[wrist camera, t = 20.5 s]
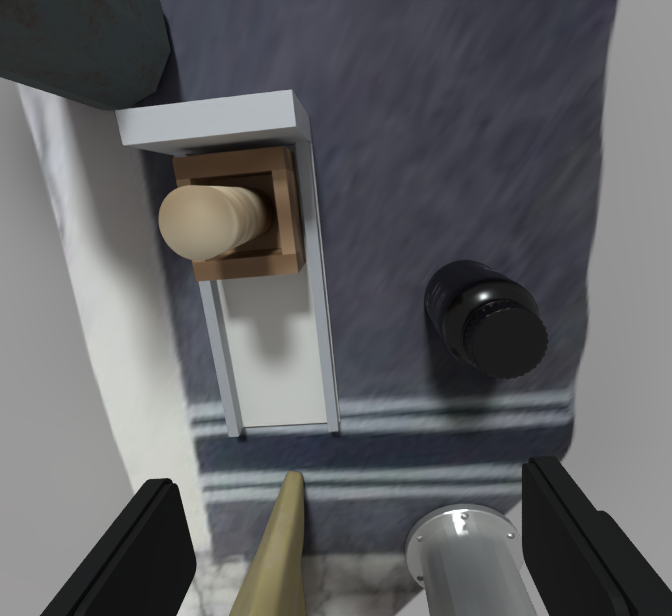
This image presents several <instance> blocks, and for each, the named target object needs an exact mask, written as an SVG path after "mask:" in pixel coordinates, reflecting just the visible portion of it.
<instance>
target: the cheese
mask: <svg viewBox="0 0 672 616" xmlns="http://www.w3.org/2000/svg"><path fill="white" fill-rule="evenodd" d="M303 539H304V486H303V476H302V474H301V473H300V472H296V471H289V472H288V473H287V474H286V476H285V479H284V481H283V484H282V487H281V489H280V492H279V495H278V498H277V500H276V503H275V505H274V508H273V511H272V513H271V516H270V519H269V521H268V524H267V527H266V529H265V532H264V535H263V538H262V540H261V543H260V545H259V548H258V550H257V553H256V555H255V557H254V560H253V562H252V564H251V566H250V569H249V571H248V573H247V575H246V578H245V580H244V582H243V584H242V586H241V589H240V591H239V593H238V595H237V598H236V600H235V603H234V605H233V607H232V609H231V611H230V614H229V616H307V615H306V607H305V599H304V590H303V581H302V569H301V557H302V549H303Z"/></svg>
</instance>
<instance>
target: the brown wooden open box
mask: <svg viewBox="0 0 672 616" xmlns="http://www.w3.org/2000/svg"><path fill="white" fill-rule="evenodd" d="M172 162H173V168H174V173H175V178H176V183H177V188H179V187H182V186H188V185H197V186H222V187H248V188H256V189H259V190H261V191H263V192H264V193H266V194H267V195H268V196H269V198H270V199H271V201H272V203H273V205H274V209H275V219H274V222H273V225H272V227H271V228H270V229H269V230H268V231H267V232H266V233H265V234H263V235H261V236H258V237H256V238H254V239H252V240H250V241H248V242H245V243H243V244H241V245H239V246H237V247H235V248H232V249H230V250H228V251H226V252H224V253H222V254H219V255H217V256H215V257H213V258H211V259H207V260H202V261H197V260H192V264H193V269H194V274H195V279H196V282H199V281H211V280H223V279H235V278H247V277H260V276H272V275H284V274H296V273H299V272H300V270H301V269H302V267H303V266H304V264H305V263H306V255H305V246H304V238H303V229H302V220H301V212H300V203H299V194H298V186H297V177H296V168H295V160H294V153H293V152H292V151H290V150H288V149H287V148H285V147H283V146H279V147H270V148H261V149H251V150H242V151H233V152H223V153H214V154H205V155H195V156H186V157H177V158H172Z"/></svg>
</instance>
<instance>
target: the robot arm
mask: <svg viewBox="0 0 672 616" xmlns="http://www.w3.org/2000/svg"><path fill="white" fill-rule="evenodd" d="M405 557H406V564H407V567H408V570H409V572H410V574H411V576H412V577H413V579H414V580H415V581H416V582H417V583H418V584H419V585H420V586H421V587H423V588H424V589H425V590H426V595H427V601H428V607H429V613H430V616H538V615H537V613H536V611H535V608H534V606H533V604H532V601H531V599H530V597H529V594H528V592H527V590H526V587H525V585H524V583H523V580H522V578H521V576H520V573H519V571H520V569H521V567H522V564H523V560H525V563H526V566H527V568H528V570H529V572H530V574H531V576H532V579H533V581H534V583H535V585H536V587H537V590H538V592H539V594H540V596H541V598H542V600H543V603H544V605H545V607H546V609H547V611H548V614H549V616H672V592H671V591H670V589H669V588H668V587H667V585H666V584H665V583H664V582H663V580H662V579H661V578H660V577H659V576H658V574H657V573H656V572H655V571H654V569H653V568H652V567H651V566H650V564H649V563H648V562H647V561H646V559H645V558H644V557H643V556H642V554H641V553H640V552H639V551H638V549H637V548H636V547H635V546H634V544H633V543H632V542H631V541H630V539H629V538H628V537H627V536H626V534H625V533H624V532H623V531H622V529H621V528H620V527H619V526H618V524H617V523H616V522H615V521H614V519H613V518H612V517H611V516H610V515H609V514H608V513H606V512H604V511H597V510H596V509H595V508H594V506H593V505H592V503H591V502H590V501H589V500H588V498H587V497H586V496H585V494H584V493H583V492H582V490H581V489H580V488H579V487H578V485H577V484H576V483H575V481H574V480H573V479H572V478H571V476H570V475H569V474H568V472H567V471H566V470H565V468H564V467H563V466H562V465H561V463H560V462H559V461H558V459H557V458H556V457H555V456H540V457H530V458H529V462H528V463H524V464H523V465H522V540H521V538H520V535H519V533H518V531H517V529H516V528H515V526H514V525H513V524H512V523H511V521H510V520H509V519H507V518H506V517H505V516H504V515H503V514H501V513H499V512H497V511H495V510H494V509H491V508H488V507H485V506H482V505H475V504H455V505H448V506H445V507H442V508H439V509H436V510H434V511H432V512H430V513H428V514H427V515H425V516H424V517H423V518H421V519H420V520H419V521H418V522H417V523H416V524H415V525H414V526H413V528H412V529H411V531H410V533H409V534H408V537H407V540H406V543H405ZM195 572H196V557H195V553H194V549H193V545H192V541H191V537H190V533H189V529H188V524H187V520H186V516H185V512H184V508H183V504H182V500H181V496H180V492H179V488H178V485H177V484H175V483H173V482H172V480H171V479H169V478H163V479H149V480H147V481H146V482H145V483H144V484H143V485H142V487H141V488H140V489H139V490H138V492H137V493H136V494H135V495H134V497H133V498H132V499H131V501H130V502H129V503H128V504H127V506H126V507H125V508H124V509H123V511H122V512H121V513H120V515H119V516H118V517H117V519H116V520H115V521H114V522H113V523H112V525H111V526H110V527H109V529H108V530H107V531H106V532H105V534H104V535H103V536H102V537H101V539H100V540H99V541H98V543H97V544H96V545H95V546H94V548H93V549H92V550H91V552H90V553H89V554H88V555H87V557H86V558H85V559H84V560H83V562H82V563H81V564H80V566H79V567H78V568H77V569H76V571H75V572H74V573H73V574H72V576H71V577H70V578H69V579H68V581H67V582H66V583H65V584H64V586H63V587H62V588H61V590H60V591H59V592H58V593H57V595H56V596H55V597H54V599H53V600H52V601H51V602H50V604H49V605H48V606H47V607H46V609H45V610H44V611H43V613H42V614H41V615H40V616H176V615H177V613H178V611H179V609H180V606H181V604H182V602H183V600H184V598H185V595H186V593H187V591H188V589H189V587H190V584H191V582H192V580H193V578H194V575H195Z"/></svg>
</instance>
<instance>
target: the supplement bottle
mask: <svg viewBox="0 0 672 616" xmlns="http://www.w3.org/2000/svg"><path fill="white" fill-rule="evenodd" d="M425 307H426V310H427V313H428V315H429V318H430V319H431V321H432V323H433V325H434V327H435V329H436V330H437V332H438V334H439V336H440V338H441V340H442V341H443V343H444V345H445V347H446V348H447V350H448V351H449V352H450V354H451V355H452V356H453V357H454V358H455V359H457V360H458V361H459V362H461V363H463V364H465V365H467V366H469V367H472V368H476V369H479V370H480V371H482V372H484V373H485V374H486V375H490V376H491V377H493V378H499V379H503V378H505V379H510V378H516V377H518V376H523V375H524V374H525V373H528V372H530V371H531V370H532V369H534V368H536V366H537V364H539V363H540V362H541V360H542V358H543V357H544V356H545V351H546V350H547V344H548V339H547V337H548V334H547V332H546V327H545V326H544V325H543V322H542V320H540V314H539V309H538V306H537V304H536V302H535V300H534V298H533V297H532V296H531V294H530V293H529V292H528V291H527V290H526V289H525V288H523V287H522V286H521V285H519V284H518V283H516V282H514V281H513V280H511V279H509V278H507V277H506V276H504V275H502V274H500V273H499V272H497V271H495V270H493V269H492V268H490V267H488V266H486V265H484V264H482V263H479V262H476V261H471V260H461V261H456V262H452V263H450V264H447V265H446V266H444V267H442V268H441V269H440V270H438V271H437V272H436V273H435V274H434V275H433V277H432V278H431V280H430V281H429V283H428V285H427V288H426V292H425Z"/></svg>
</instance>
